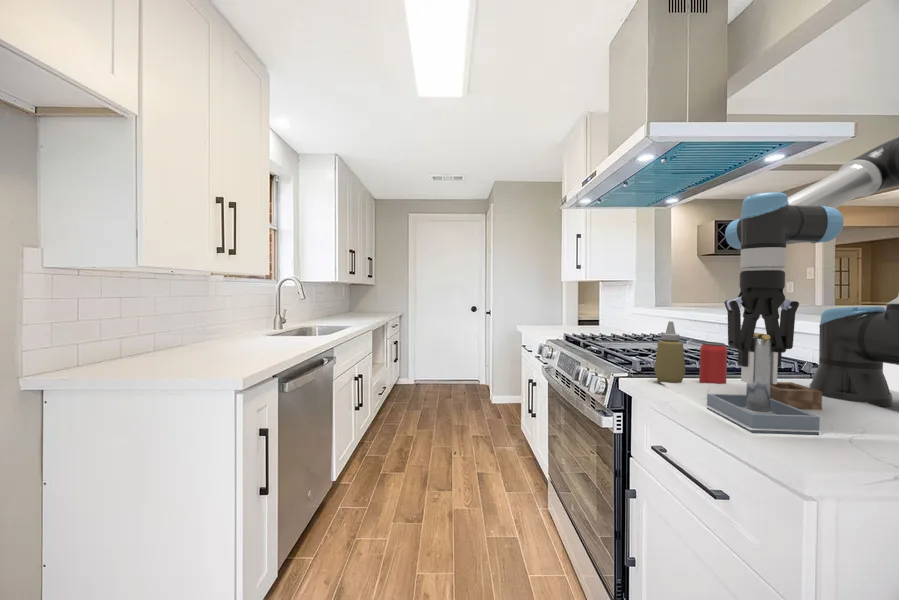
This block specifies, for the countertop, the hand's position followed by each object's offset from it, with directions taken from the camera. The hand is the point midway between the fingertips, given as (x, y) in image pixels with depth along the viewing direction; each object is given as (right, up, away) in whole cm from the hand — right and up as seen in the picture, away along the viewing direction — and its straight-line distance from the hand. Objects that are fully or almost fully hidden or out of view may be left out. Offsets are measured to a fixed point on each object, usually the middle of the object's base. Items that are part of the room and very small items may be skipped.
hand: (758, 382), depth 87 cm
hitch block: (+14, -8, +10) cm, 19 cm away
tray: (0, -8, 0) cm, 8 cm away
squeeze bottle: (-1, -7, +34) cm, 35 cm away
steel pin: (0, -6, 0) cm, 6 cm away
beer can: (+11, -7, +33) cm, 36 cm away
